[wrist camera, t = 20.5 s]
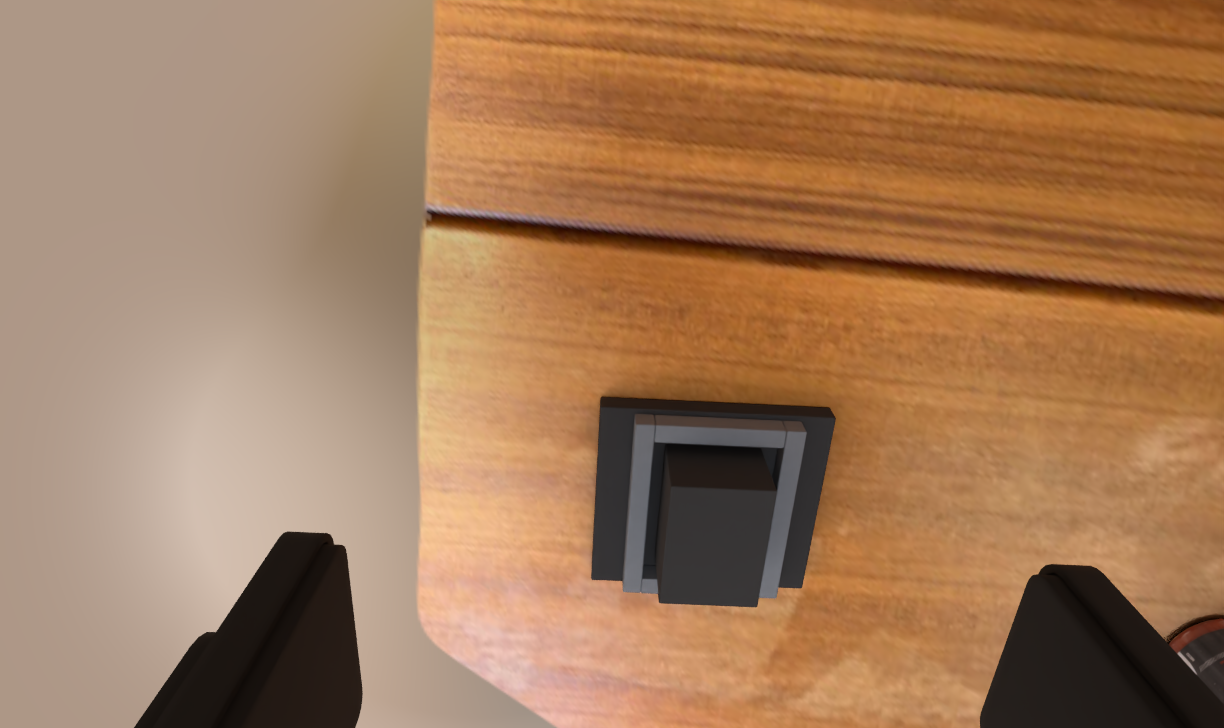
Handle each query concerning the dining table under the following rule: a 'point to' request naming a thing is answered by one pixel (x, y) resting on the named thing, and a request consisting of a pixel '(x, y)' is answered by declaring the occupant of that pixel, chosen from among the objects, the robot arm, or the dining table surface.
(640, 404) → the base pad
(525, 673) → the dining table surface
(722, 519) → the black block
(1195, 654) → the supplement bottle
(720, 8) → the dining table surface
